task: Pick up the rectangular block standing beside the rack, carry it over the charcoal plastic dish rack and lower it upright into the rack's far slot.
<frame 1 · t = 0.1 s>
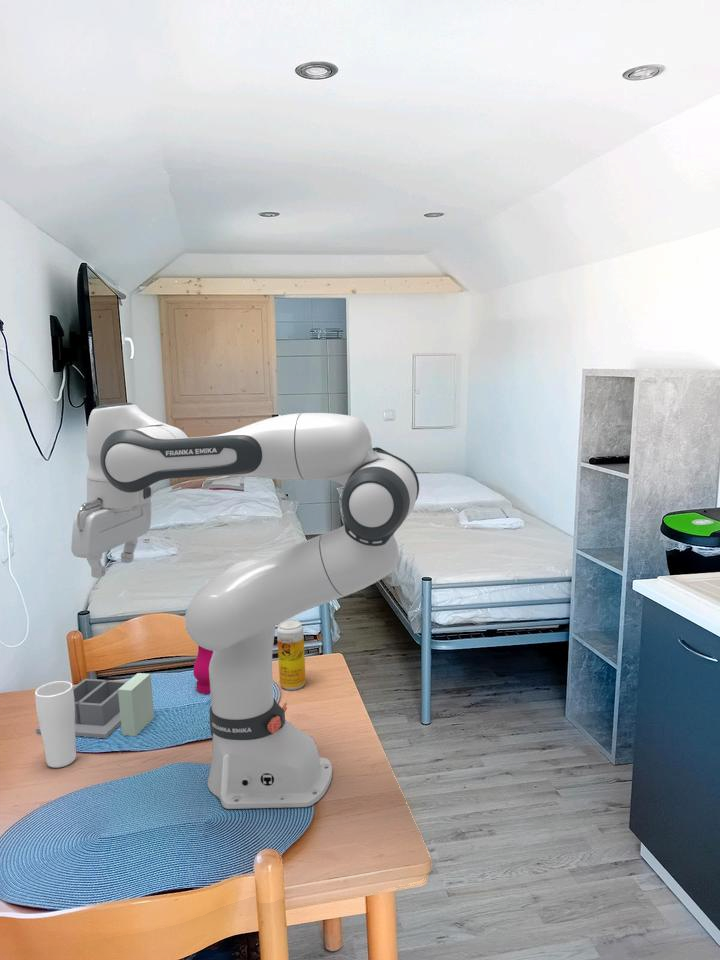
hand: (113, 569, 127), 39 cm above the table, tool pointing down, fingers open, 8 cm apart
drinking glass: (61, 762, 136), on the table
rectangular block: (138, 726, 149), on the table
dish rack: (95, 715, 154), on the table
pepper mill: (210, 688, 166), on the table
beer can: (293, 686, 166), on the table
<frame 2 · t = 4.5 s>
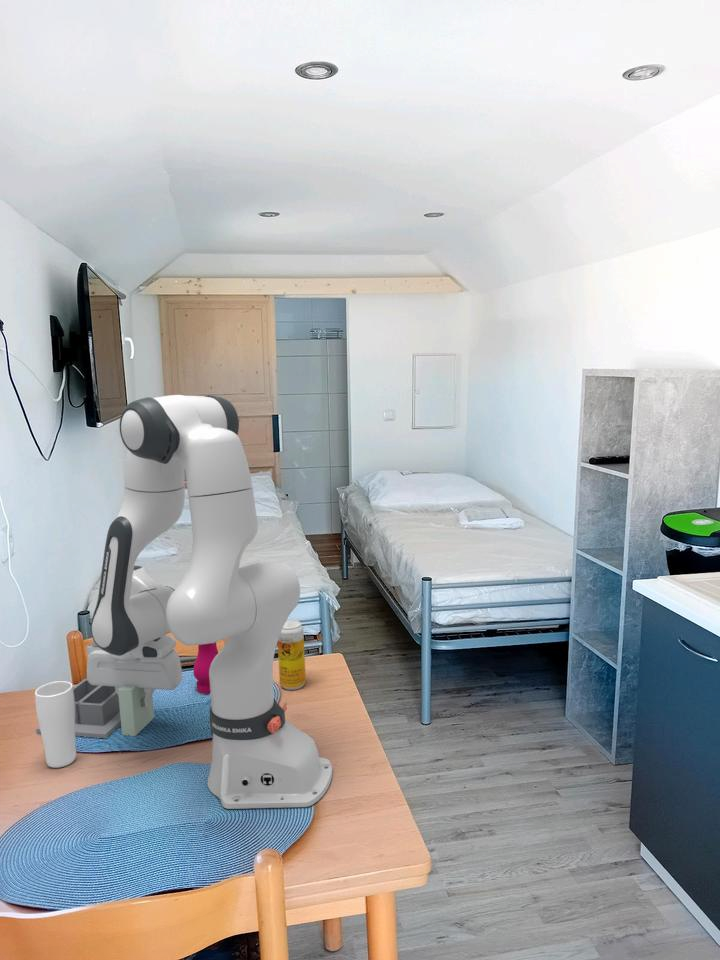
hand: (136, 705, 148), 5 cm above the table, tool pointing down, fingers closed on rectangular block, 3 cm apart
rectangular block: (138, 725, 149), on the table, touching gripper
everything else where it was.
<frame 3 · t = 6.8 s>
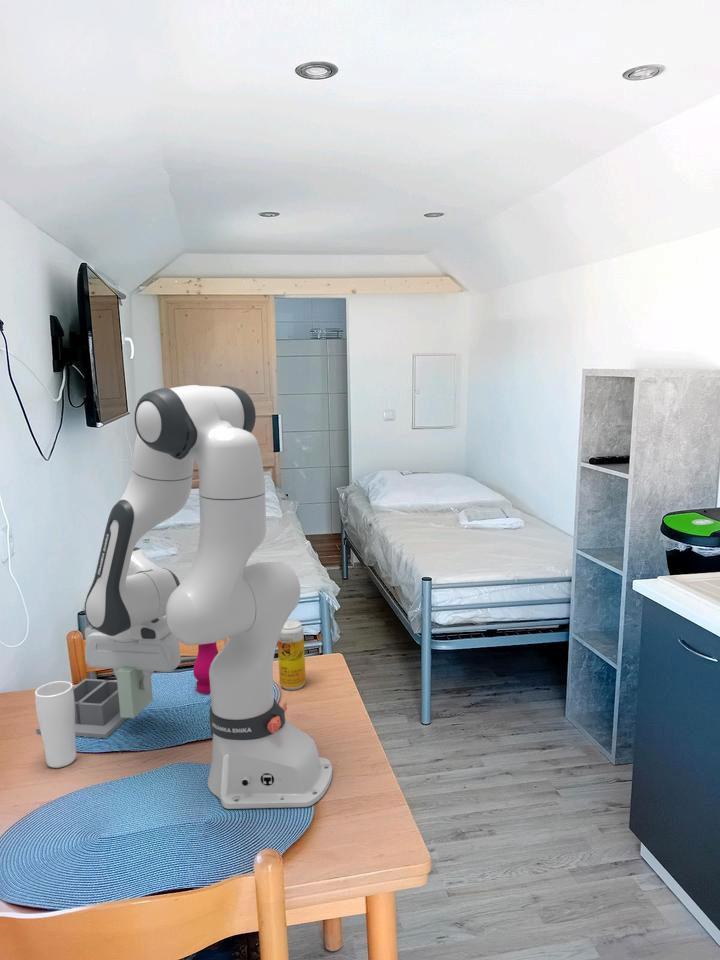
hand: (135, 687, 148), 9 cm above the table, tool pointing down, fingers closed on rectangular block, 3 cm apart
rectangular block: (137, 708, 148), point 4 cm above the table, touching gripper
everything else where it was.
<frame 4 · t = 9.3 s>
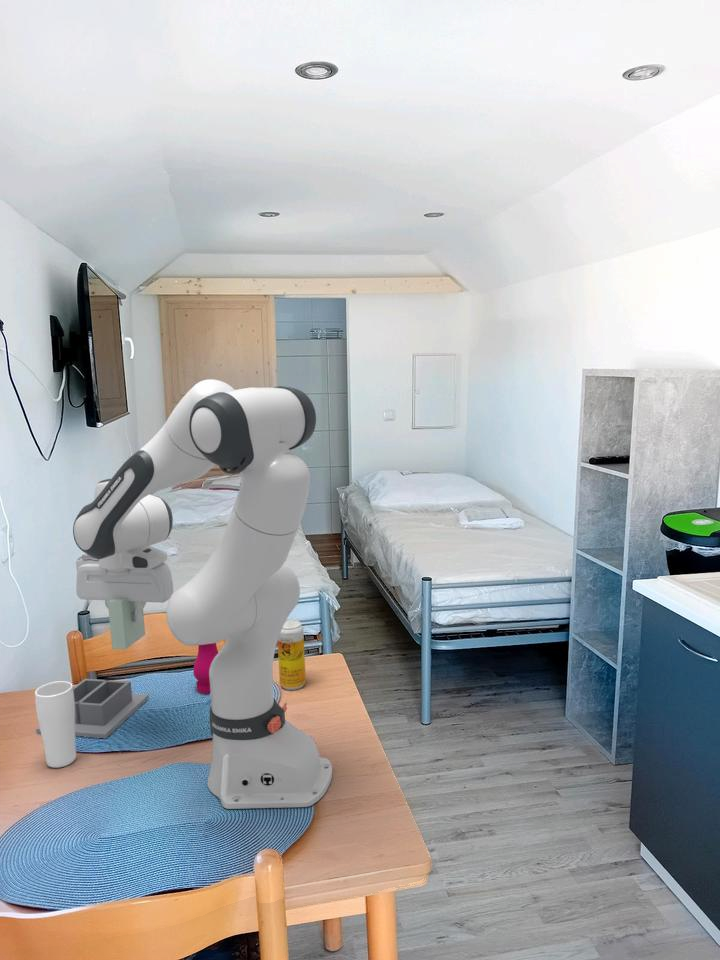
hand: (127, 620, 146), 23 cm above the table, tool pointing down, fingers closed on rectangular block, 3 cm apart
rectangular block: (129, 641, 146), point 19 cm above the table, touching gripper
everything else where it was.
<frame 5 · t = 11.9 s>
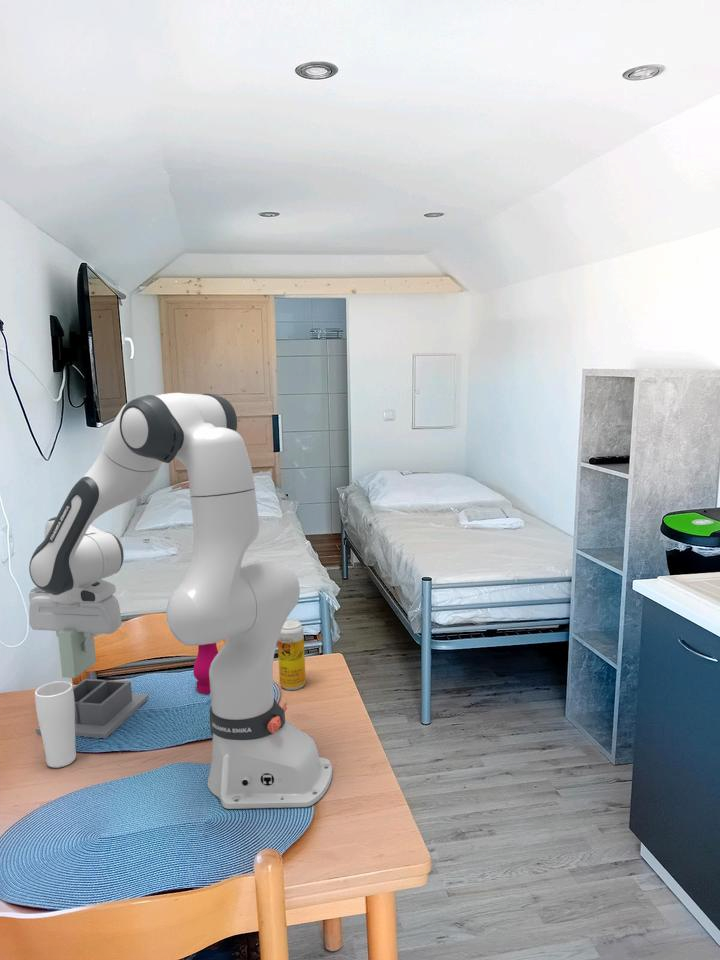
hand: (77, 649, 153), 15 cm above the table, tool pointing down, fingers closed on rectangular block, 3 cm apart
rectangular block: (79, 669, 154), point 10 cm above the table, touching gripper
everything else where it was.
when the fingers open (7 cm above the table, at t = 14.4 s): rectangular block drops 1 cm, resting on dish rack.
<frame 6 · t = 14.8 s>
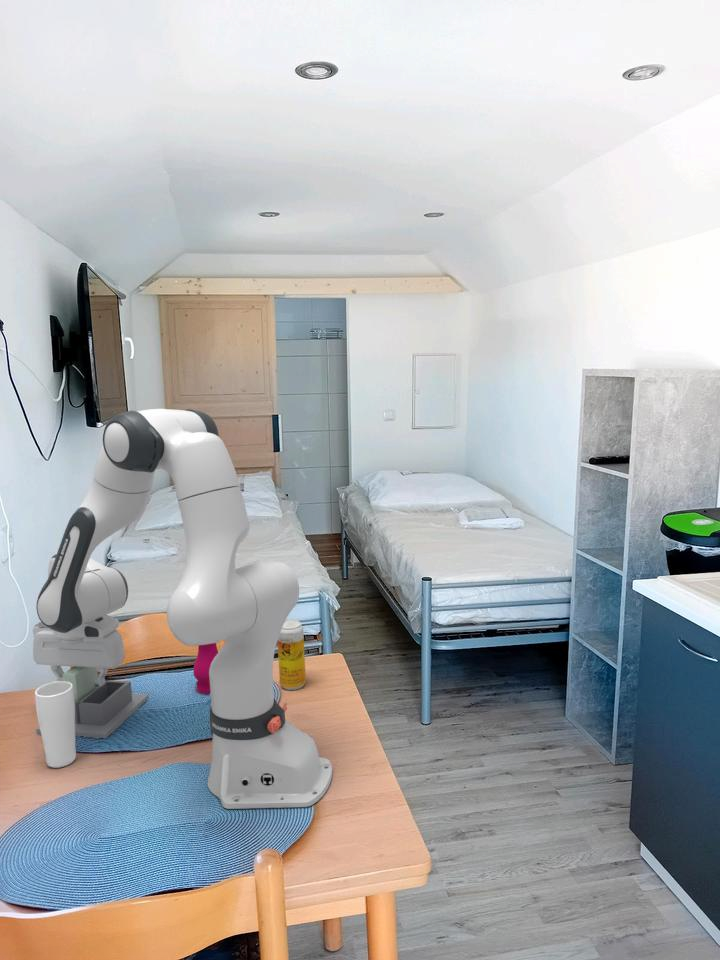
hand: (81, 684, 154), 7 cm above the table, tool pointing down, fingers open, 8 cm apart
rectangular block: (84, 710, 155), point 1 cm above the table, touching dish rack
everything else where it was.
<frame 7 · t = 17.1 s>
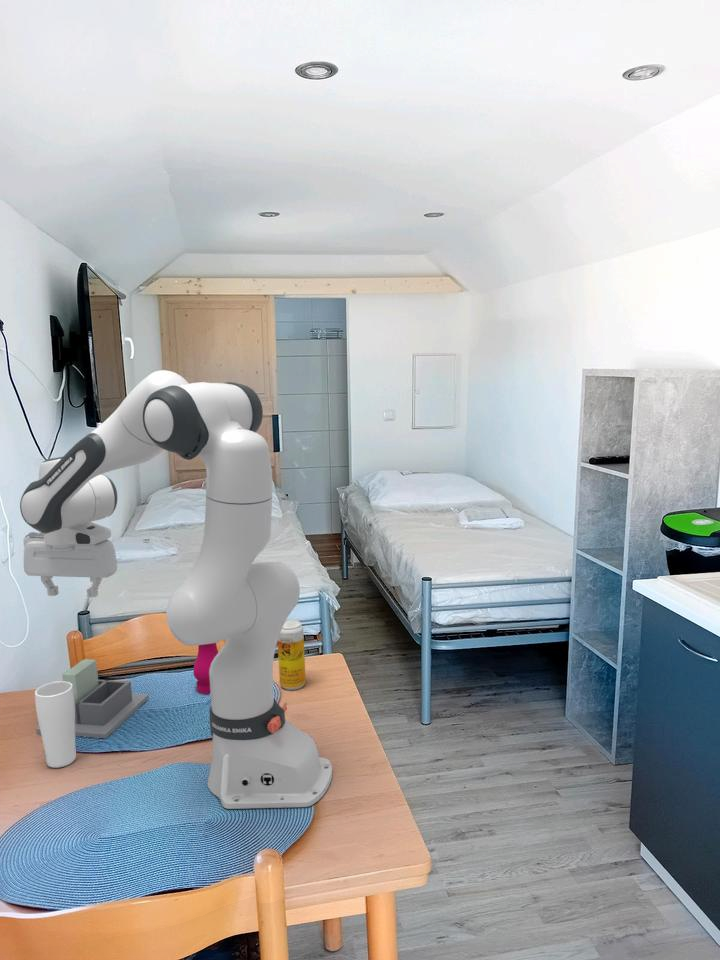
hand: (73, 595, 151), 27 cm above the table, tool pointing down, fingers open, 8 cm apart
nothing on the table moved.
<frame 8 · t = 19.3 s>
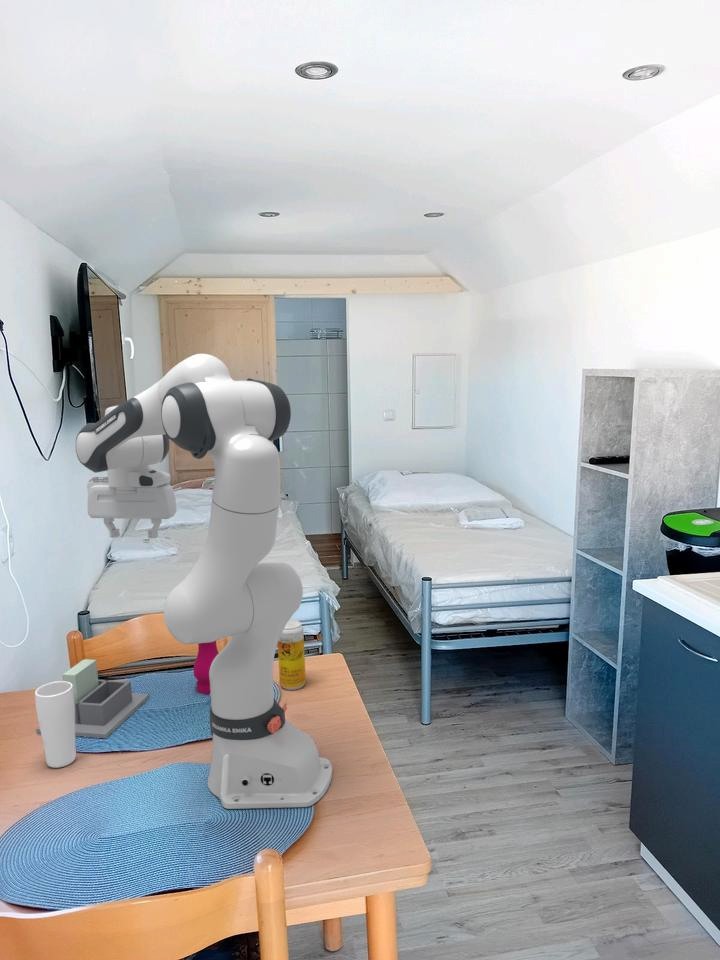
hand: (134, 537, 159), 37 cm above the table, tool pointing down, fingers open, 8 cm apart
nothing on the table moved.
at the end: rectangular block 0.0 cm from the target spot on the dish rack, point 1.0 cm above the dish rack's base; rectangular block tilted 0°; the gripper is holding nothing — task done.
